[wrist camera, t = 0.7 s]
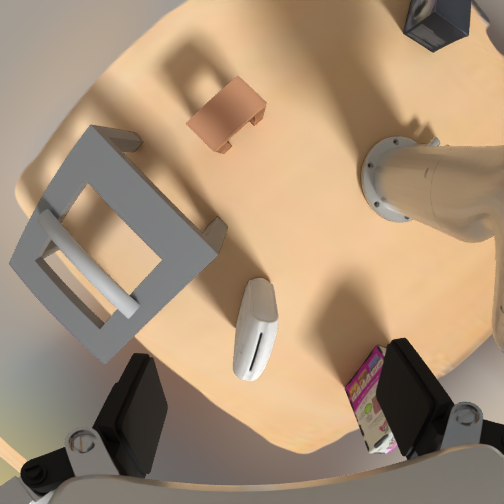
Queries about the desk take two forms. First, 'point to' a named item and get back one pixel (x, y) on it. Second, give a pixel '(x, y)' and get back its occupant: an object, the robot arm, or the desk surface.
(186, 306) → the desk surface
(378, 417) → the candy bar box
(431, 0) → the small box
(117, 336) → the grey square frame
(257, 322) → the photo printer
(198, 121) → the u-shaped wooden block
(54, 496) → the robot arm
